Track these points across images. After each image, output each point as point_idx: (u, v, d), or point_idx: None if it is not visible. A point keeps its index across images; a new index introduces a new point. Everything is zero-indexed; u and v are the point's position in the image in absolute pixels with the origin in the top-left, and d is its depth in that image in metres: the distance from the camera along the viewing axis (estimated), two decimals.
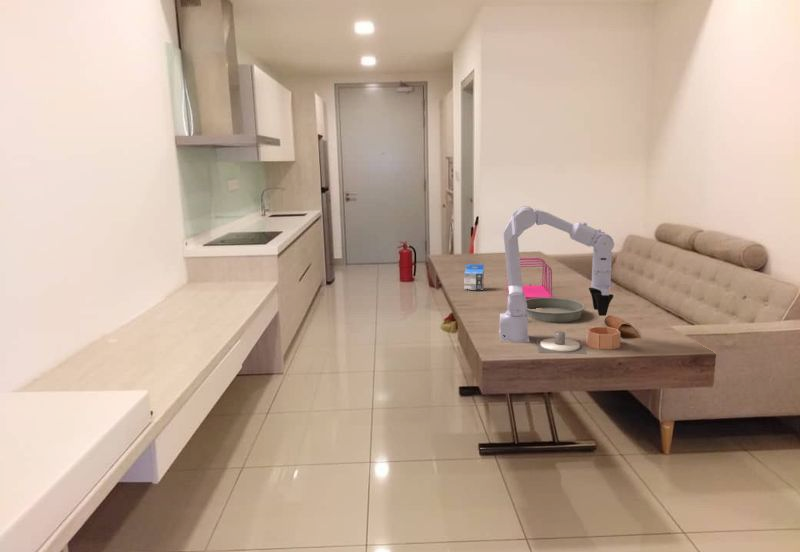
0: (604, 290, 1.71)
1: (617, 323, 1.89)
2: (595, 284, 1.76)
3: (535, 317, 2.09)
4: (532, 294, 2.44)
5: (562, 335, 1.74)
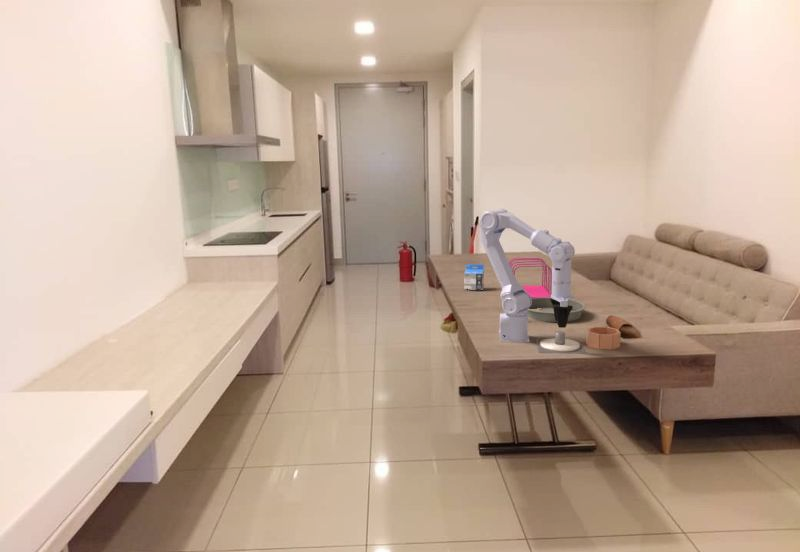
0: (562, 301, 1.66)
1: (618, 323, 1.89)
2: (555, 295, 1.71)
3: (535, 317, 2.09)
4: (532, 294, 2.44)
5: (562, 335, 1.74)
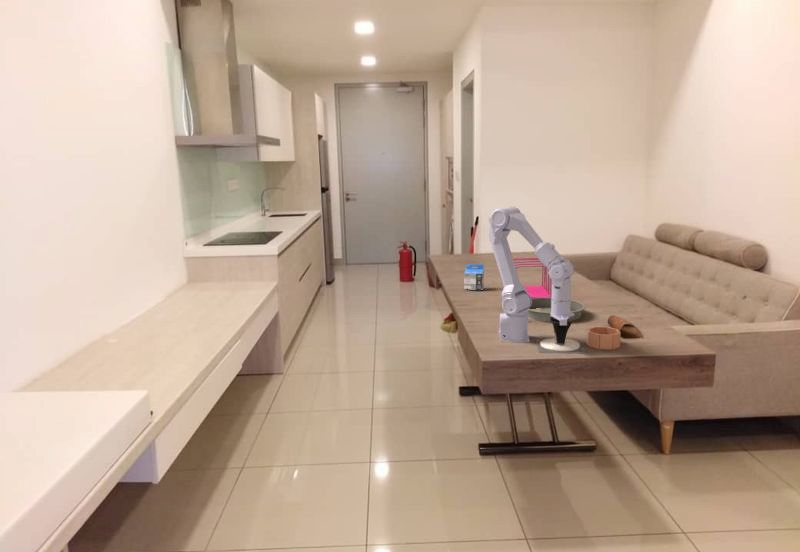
0: (562, 320, 1.67)
1: (619, 323, 1.89)
2: (554, 313, 1.73)
3: (535, 317, 2.09)
4: (532, 294, 2.44)
5: None
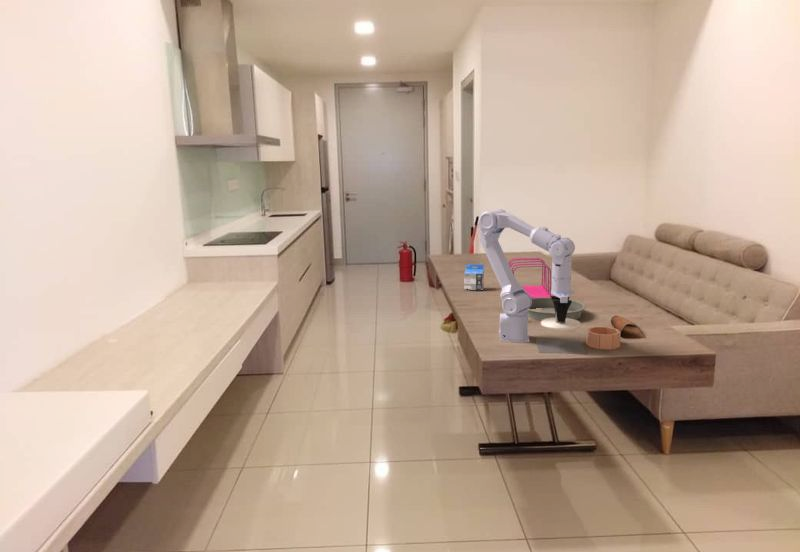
0: (562, 297, 1.66)
1: (622, 323, 1.88)
2: (555, 291, 1.71)
3: (535, 317, 2.09)
4: (531, 294, 2.44)
5: None
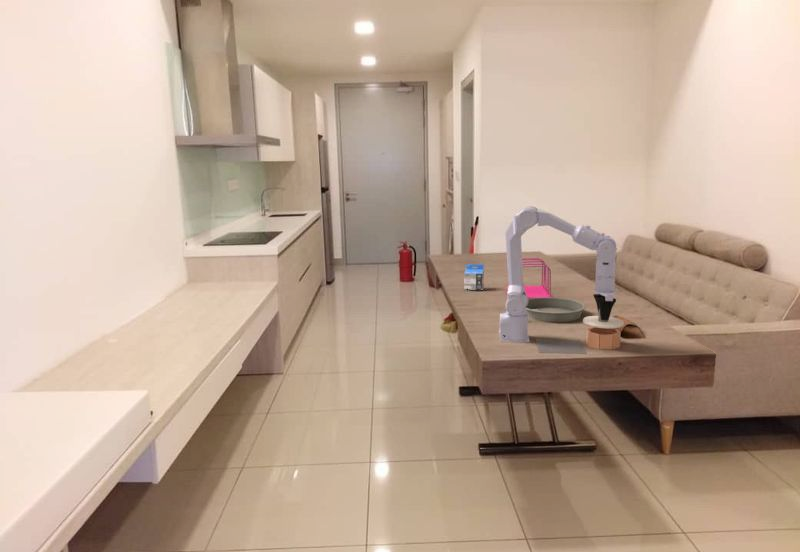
0: (608, 295, 1.66)
1: None
2: (599, 289, 1.72)
3: (535, 317, 2.09)
4: (531, 294, 2.43)
5: None
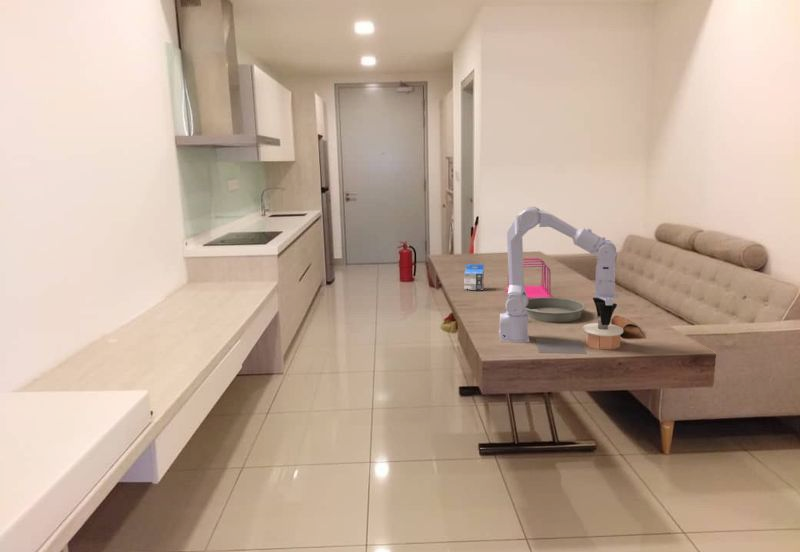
0: (608, 300, 1.67)
1: (622, 323, 1.88)
2: (599, 294, 1.72)
3: (535, 317, 2.09)
4: (531, 294, 2.43)
5: None
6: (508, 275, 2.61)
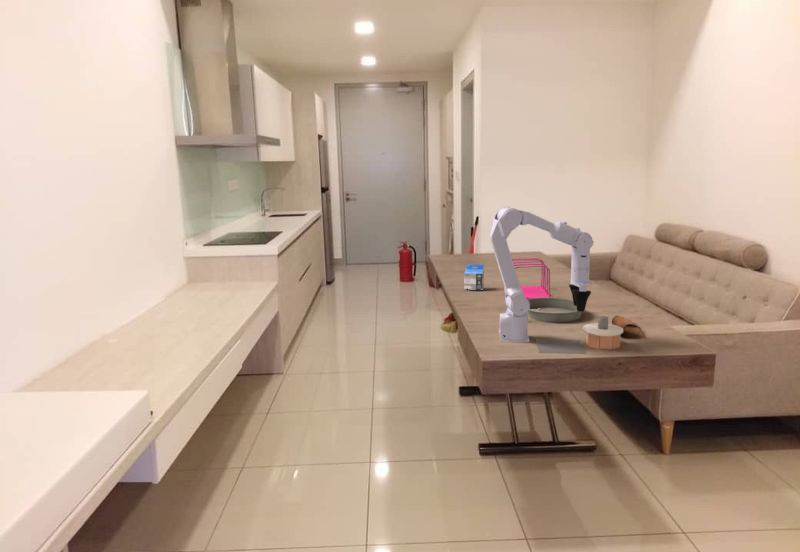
0: (581, 286, 1.76)
1: (622, 323, 1.88)
2: (574, 281, 1.82)
3: (535, 317, 2.09)
4: (530, 295, 2.43)
5: (606, 319, 1.74)
6: None
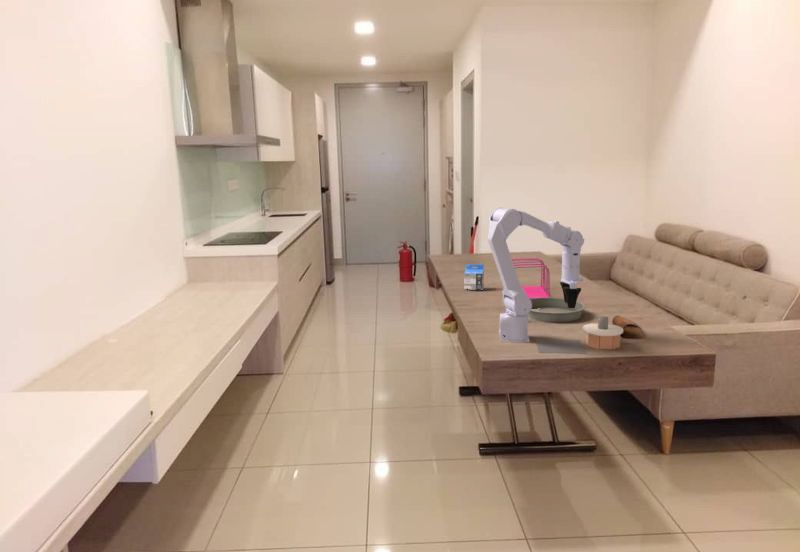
0: (572, 283, 1.81)
1: (623, 323, 1.88)
2: (564, 278, 1.86)
3: (535, 317, 2.09)
4: (530, 295, 2.43)
5: (606, 319, 1.74)
6: None
